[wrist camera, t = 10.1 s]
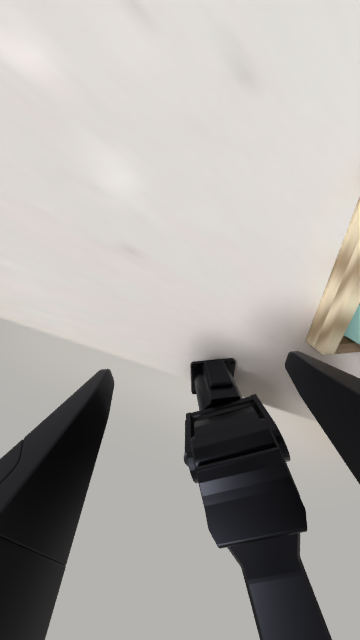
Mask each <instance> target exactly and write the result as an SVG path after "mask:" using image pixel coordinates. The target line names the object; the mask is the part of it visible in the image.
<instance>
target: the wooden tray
mask: <svg viewBox="0 0 360 640" xmlns="http://www.w3.org/2000/svg"><path fill="white" fill-rule="evenodd" d="M359 303H360V199H359V201H358V204H357V206H356V209H355V212H354V214H353V217H352V220H351V222H350V225H349V228H348V230H347V233H346V236H345V238H344V241H343V244H342V246H341V249H340V251H339V254H338V257H337V259H336V262H335V265H334V267H333V270H332V273H331V275H330V278H329V281H328V283H327V286H326V289H325V291H324V294H323V296H322V299H321V302H320V304H319V307H318V310H317V312H316V315H315V318H314V320H313V323H312V326H311V328H310V331H309V334H308V336H307V339H306V342H307V343H308V344H310V345H311V346H312V347H313V348H315V349H316V350H317V351H318V352H320V353H321V354H322V355H328V354H339V353H349V352H360V344H358V343H356V342H355V341H353V340H351V339H350V338H348V337H346V336H344V333H345V331H346V329H347V327H348V325H349V323H350V321H351V319H352V317H353V315H354V313H355V311H356V309H357V307H358V305H359Z"/></svg>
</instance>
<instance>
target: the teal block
mask: <svg viewBox="0 0 360 640" xmlns="http://www.w3.org/2000/svg"><path fill="white" fill-rule="evenodd" d="M344 336H346V337H348V338H350V339H351V340H353V341H355V342H356V343H358V344H360V303H359V305H358V307H357V309H356V311H355V313H354V315H353V317H352V319H351V321H350V323H349V325H348V327H347V329H346V331H345V333H344Z"/></svg>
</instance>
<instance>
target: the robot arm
mask: <svg viewBox="0 0 360 640" xmlns="http://www.w3.org/2000/svg"><path fill="white" fill-rule="evenodd" d="M193 365H195V366H193ZM285 368H286V370H287V372H288V374H289V376H290V377H291V379H292V381H293V383H294V385H295V387H296V388H297V390H298V392H299V394H300V396H301V397H302V399H303V400H304V402H305V403H306V405H307V406H308V408H309V409H310V411H311V412H312V414H313V415H314V417H315V418H316V420H317V421H318V423H319V424H320V425H321V427H322V429H323V430H324V432H325V433H326V435H327V436H328V438H329V439H330V440H331V442H332V444H333V445H334V447H335V448H336V450H337V451H338V452H339V454H340V456H341V457H342V458H343V460H344V462H345V463H346V465H347V466H348V468H349V469H350V470H351V472H352V473H353V475H354V476H355V478H356V479H357V481H358V482H359V484H360V379H359V378H357V377H355V376H353V375H351V374H348V373H346V372H344V371H342V370H339V369H337V368H335V367H333V366H330V365H328V364H326V363H324V362H321V361H319V360H317V359H315V358H313V357H310V356H308V355H306V354H304V353H301V352H299V351H294V352H289V353H288V356H287V359H286V362H285ZM234 369H235V360H234V359H233V358H230V359H220V360H209V361H198V362H192V363H191V391H192V394H197V400H198V405H199V410H200V411H197V412H193V413H187V414H186V420H185V453H184V462H185V464H186V465H187V466H188V467H189V469H190V473H191V476H192V478H193V481H194V482H195V483H199V487H200V491H201V495H202V500H203V504H204V508H205V512H206V518H207V524H208V528H209V531H210V533H211V535H212V537H213V539H214V540H215V542H216V544H217V546H218V547H219V548H225V547H227V548H228V549H229V550H230V552H231V553H232V555H233V556H234V557H235V559H236V560H237V562H238V563H239V564H240V566H241V568H242V572H243V575H244V579H245V583H246V587H247V591H248V594H249V598H250V602H251V606H252V610H253V613H254V618H255V621H256V625H257V629H258V633H259V637H260V640H332V639H331V636H330V634H329V631H328V628H327V626H326V623H325V620H324V618H323V615H322V613H321V610H320V608H319V605H318V602H317V600H316V597H315V595H314V592H313V589H312V587H311V584H310V582H309V579H308V577H307V574H306V572H305V569H304V566H303V564H302V561H301V559H300V533H301V532H306V531H307V521H306V511H305V507H304V505H303V503H302V501H301V499H300V495H299V492H298V490H297V488H296V485H295V483H294V480H293V478H292V476H291V473H290V471H289V469H288V466H287V464H286V462H287V461H290V455H289V452H288V449H287V446H286V444H285V442H284V439H283V437H282V435H281V433H280V431H279V430H278V428H277V426H276V424H275V422H274V421H273V419H272V418H271V417H270V415H269V413H268V412H267V410H266V409H265V407H264V406H263V404H262V403H261V401H260V400H259V399H258V397H257V396H256V394H254V395H251V396H250V397H246V398H242V396H241V394H240V392H239V390H238V387H237V385H236V383H235V381H234V379H233V377H234ZM113 389H114V380H113V376H112V374H111V371H110V369H102V370H100V371H98V372H97V373H96V374H95V375H94V376H93V377H92V378H91V379H89V380H88V381H87V382H86V383H85V384H84V385H83V386H82V387H80V388H79V389H78V390H77V391H76V392H75V393H74V394H73V395H72V396H70V397H69V398H68V399H67V400H66V401H65V402H64V403H63V404H61V405H60V406H59V407H58V408H57V409H56V410H55V411H54V412H53V413H51V414H50V415H49V416H48V417H47V418H46V419H45V420H44V421H42V422H41V423H40V424H39V425H38V426H37V427H36V428H35V429H34V430H32V431H31V433H29V434H28V435H27V436H26V437H25V438H24V440H21V441H20V442H19V443H18V444H17V445H16V446H14V447H13V448H12V449H11V450H10V451H9V452H8V453H7V454H6V455H4V456H3V457H2V458H1V459H0V640H45V637H46V634H47V630H48V627H49V623H50V620H51V616H52V613H53V609H54V606H55V602H56V599H57V595H58V592H59V588H60V585H61V581H62V577H63V574H64V571H65V567H66V566H65V565H66V563H67V559H68V556H69V553H70V549H71V546H72V542H73V539H74V535H75V532H76V528H77V525H78V522H79V518H80V514H81V511H82V507H83V504H84V501H85V497H86V493H87V490H88V487H89V483H90V480H91V476H92V472H93V469H94V466H95V462H96V459H97V455H98V452H99V448H100V445H101V441H102V438H103V434H104V431H105V427H106V424H107V420H108V416H109V411H110V406H111V400H112V394H113Z"/></svg>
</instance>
